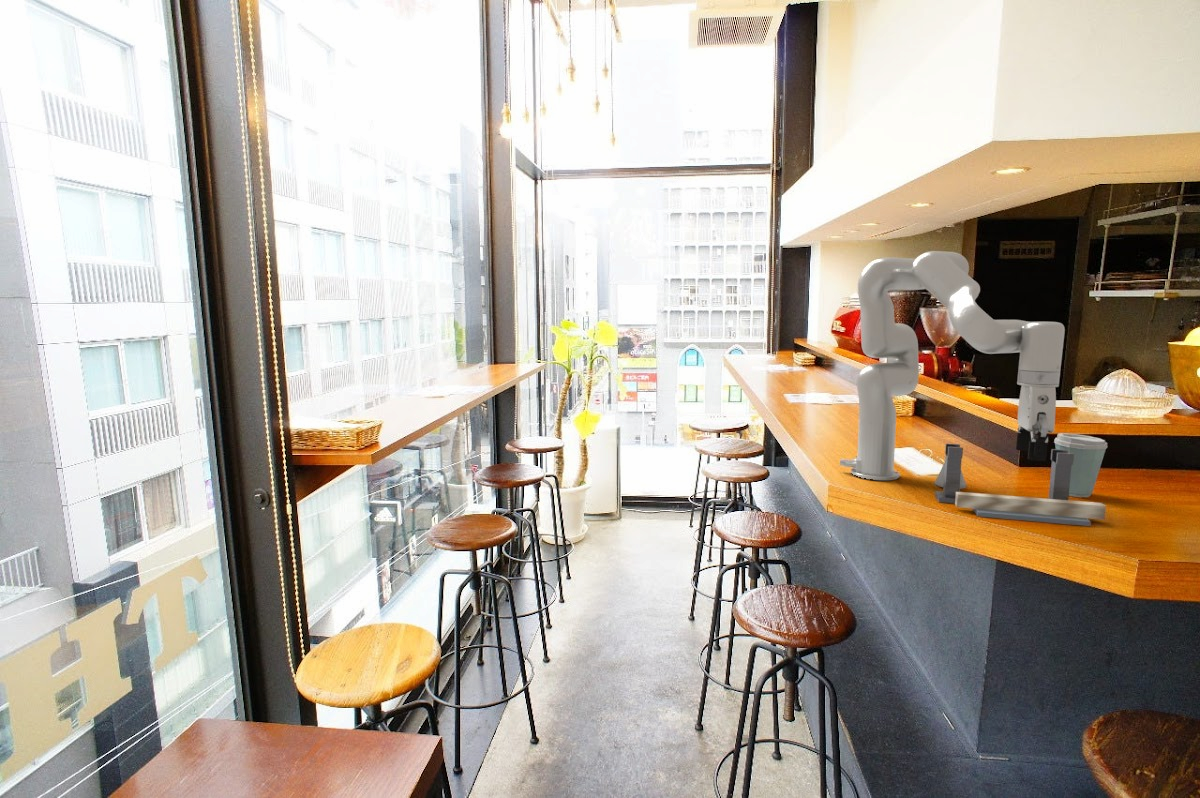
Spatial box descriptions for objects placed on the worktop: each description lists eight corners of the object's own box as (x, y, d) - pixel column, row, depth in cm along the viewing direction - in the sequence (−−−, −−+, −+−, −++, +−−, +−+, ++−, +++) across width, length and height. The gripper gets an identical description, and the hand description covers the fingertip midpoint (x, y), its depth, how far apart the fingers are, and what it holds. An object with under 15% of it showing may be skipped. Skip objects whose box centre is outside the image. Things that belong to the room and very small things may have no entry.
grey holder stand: (938, 502, 153) (942, 447, 151) (935, 495, 159) (938, 442, 157) (1077, 513, 144) (1082, 455, 142) (1068, 506, 149) (1073, 449, 147)
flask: (928, 484, 169) (930, 447, 168) (948, 481, 172) (950, 445, 171) (952, 491, 163) (954, 453, 161) (972, 488, 165) (975, 450, 164)
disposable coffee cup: (1081, 488, 164) (1086, 431, 162) (1114, 500, 153) (1120, 439, 151) (1039, 488, 164) (1044, 431, 162) (1070, 500, 153) (1076, 439, 151)
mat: (977, 516, 142) (977, 512, 142) (970, 506, 149) (971, 502, 149) (1090, 526, 135) (1090, 521, 135) (1077, 515, 142) (1078, 511, 142)
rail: (956, 507, 146) (957, 494, 146) (955, 504, 148) (955, 491, 148) (1104, 519, 136) (1105, 506, 136) (1100, 516, 138) (1101, 502, 138)
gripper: (1072, 384, 129) (1063, 466, 132) (1046, 375, 145) (1038, 448, 148) (1029, 382, 132) (1020, 463, 134) (1008, 373, 148) (1001, 445, 150)
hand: (1030, 455), depth 141 cm, fingers open, 9 cm apart
